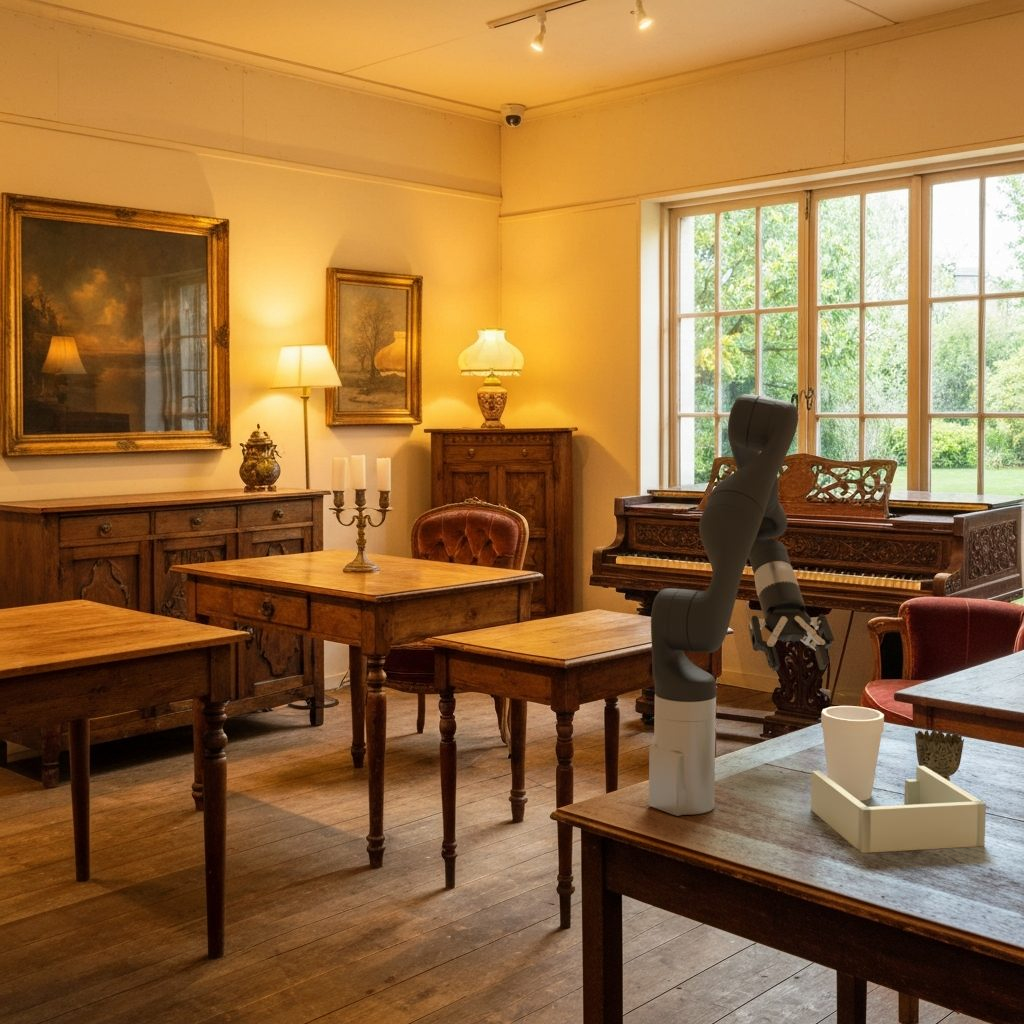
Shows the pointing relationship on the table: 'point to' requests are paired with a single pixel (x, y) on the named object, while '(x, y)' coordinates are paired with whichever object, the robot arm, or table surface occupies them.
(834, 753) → the foam cup
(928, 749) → the cup
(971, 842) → the walled box
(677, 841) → the table surface
